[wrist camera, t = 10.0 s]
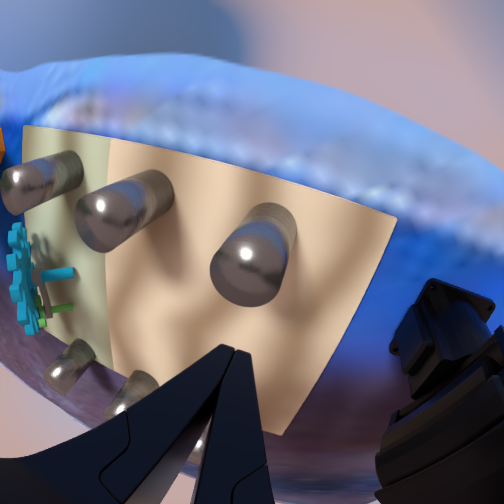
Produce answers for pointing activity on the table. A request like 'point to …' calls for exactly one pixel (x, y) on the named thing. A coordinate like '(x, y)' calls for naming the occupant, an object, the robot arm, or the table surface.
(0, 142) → the decorative tree
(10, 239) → the gear
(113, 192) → the spacer posts
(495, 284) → the table surface
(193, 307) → the board
